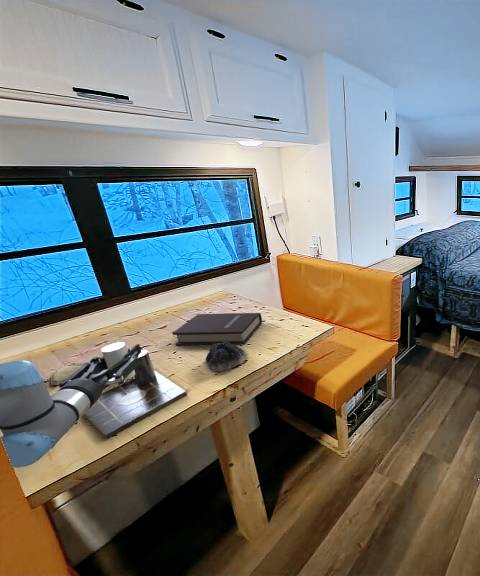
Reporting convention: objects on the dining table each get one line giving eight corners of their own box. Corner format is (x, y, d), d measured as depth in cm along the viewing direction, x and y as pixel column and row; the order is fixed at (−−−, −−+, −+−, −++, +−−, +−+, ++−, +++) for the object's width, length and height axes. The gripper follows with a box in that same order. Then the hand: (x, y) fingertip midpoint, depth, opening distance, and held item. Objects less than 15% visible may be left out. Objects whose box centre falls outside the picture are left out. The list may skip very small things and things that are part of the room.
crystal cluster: (223, 352, 119) (215, 331, 115) (254, 352, 117) (247, 330, 113) (200, 375, 107) (189, 352, 103) (234, 375, 105) (224, 352, 101)
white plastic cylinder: (109, 378, 89) (98, 348, 85) (131, 369, 93) (120, 340, 89) (117, 384, 86) (104, 353, 82) (138, 374, 90) (127, 345, 87)
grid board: (78, 408, 90) (76, 404, 90) (154, 373, 106) (153, 369, 106) (107, 439, 79) (105, 434, 79) (187, 395, 95) (186, 390, 94)
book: (262, 322, 142) (260, 311, 139) (244, 344, 123) (241, 331, 121) (203, 324, 142) (200, 312, 140) (176, 345, 124) (172, 332, 122)
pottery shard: (52, 391, 100) (88, 375, 104) (43, 381, 99) (80, 365, 102) (66, 375, 109) (98, 361, 113) (57, 366, 108) (91, 352, 111)
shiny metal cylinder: (133, 382, 99) (124, 355, 96) (152, 373, 103) (143, 348, 100) (140, 387, 96) (131, 360, 93) (159, 378, 101) (150, 352, 97)
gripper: (32, 421, 70) (97, 364, 92) (122, 407, 74) (164, 355, 95) (18, 394, 68) (88, 342, 89) (112, 381, 71) (158, 334, 93)
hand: (127, 349), depth 92 cm, fingers closed on white plastic cylinder, 5 cm apart
